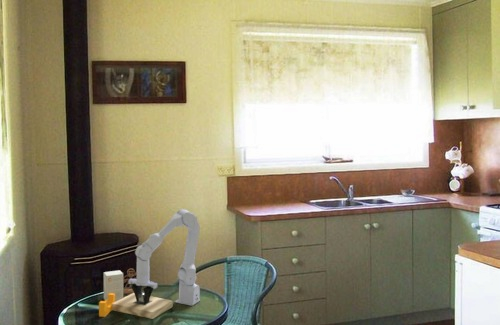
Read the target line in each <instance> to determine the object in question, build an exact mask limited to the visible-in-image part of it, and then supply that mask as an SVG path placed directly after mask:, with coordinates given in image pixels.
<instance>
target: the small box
mask: <svg viewBox="0 0 500 325" xmlns="http://www.w3.org/2000/svg"><path fill="white" fill-rule="evenodd" d="M123 278H124V272H122V271H121V270H119V269H118V270H112V271H111V270H110V271H105V272H103V300H104V301H105V300H108V294H109V293H115V302H116V301H118V300H120V299H122V298H124V294H123V289H124V280H123Z"/></svg>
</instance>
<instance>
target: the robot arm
mask: <svg viewBox="0 0 500 325" xmlns="http://www.w3.org/2000/svg"><path fill="white" fill-rule="evenodd" d="M184 226H185V227H186V229H187V230H188V231H187V235H186V241H185V242H186V243H185V248H184V255H183V261H182V263H181V264H180V268H179V269H178V271H177V278H178V279H179V282H178V299H176V300H175V301H174V303H177V304H182V305H188V306H194V305H196V304H197V303H199V302H200V301H201V299H200V297H201V296H200V294H201V287H200V285H198V284H196V281H197V278H198V277H197V274H196V272H197V269H196V266H195V262H196V254H197V248H198V242H199V235H200V230H201V227H200V223H199V220H198V216H197V215H196V214H195V213H194V212H192V211H189V210H187V209H185V208H180V209H179V210H177V212H175V213H174V214H173V216H172V217H171V218H170V219H169V221H168V222H166V224H165V225H164V226H163V227H162V228H161V229H160V230H159V231H158V232H156V233H153V234H152V233H151V234H150V235H149V237H148V238H147V239H146V240H145V241H144V242H142V243H141V245H138V246H137V247H136V250H135V251H134V254H135V256H136V272H137V273H136V274H137V275H136V277H137V278H136V279H133V278H131V279H130V278H128V282H129V283H128V285H132V286H130V287H131V288H130V289H132V290H133V291H134V294H135V297H136V301H139V298H138V294H139V293H141V292H142V290H143V291H144V293H145V303H147V302H149V299H150V296H152V293H153V291H154V289H157V288H158V283H157V282H154V281H151V280H150V258H152V255H153V254H152V253H153V252H154V251H155V250H156V249H157V248H158V247H159V246H161V244H162V243H163V242H164V241H163V240H164V238H165V237H166V236H167V235H168V234H170V233H172V231H173V230H174V229H175V228H176V227H184ZM142 287H144V288H143V289H142Z"/></svg>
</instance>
